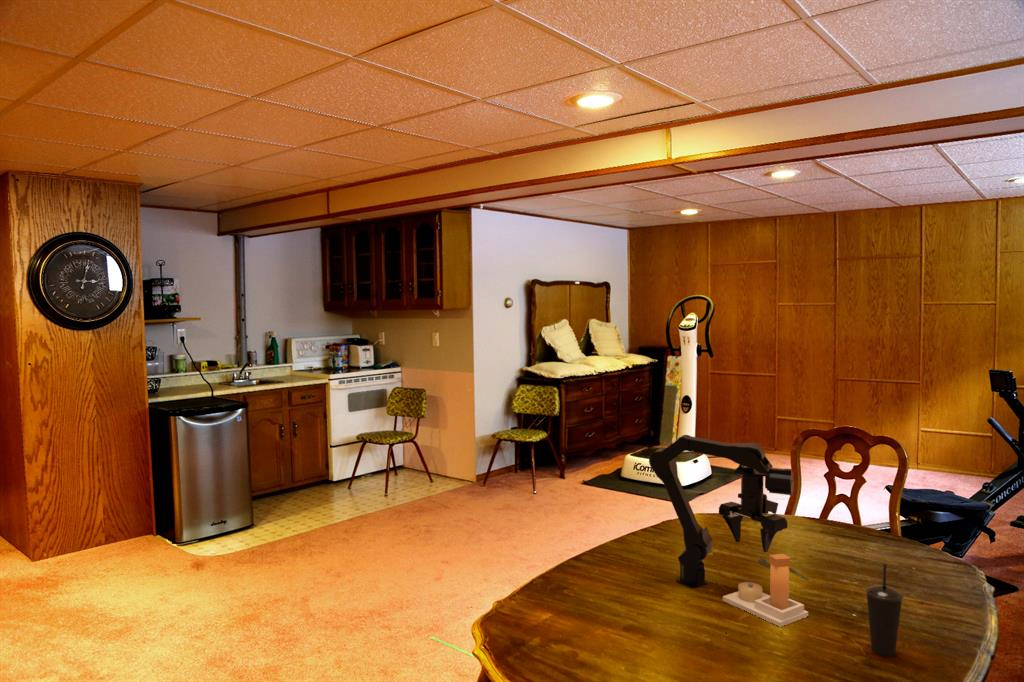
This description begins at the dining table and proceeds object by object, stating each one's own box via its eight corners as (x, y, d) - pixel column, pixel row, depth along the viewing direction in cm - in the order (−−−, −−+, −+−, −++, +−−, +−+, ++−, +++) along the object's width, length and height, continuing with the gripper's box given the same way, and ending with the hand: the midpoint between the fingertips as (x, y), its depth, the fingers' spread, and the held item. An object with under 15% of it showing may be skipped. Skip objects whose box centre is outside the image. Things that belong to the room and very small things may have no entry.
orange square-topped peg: (766, 607, 179) (767, 554, 178) (782, 605, 180) (783, 552, 179) (775, 614, 175) (776, 560, 174) (791, 613, 176) (792, 559, 175)
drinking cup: (857, 643, 163) (858, 559, 161) (888, 641, 163) (890, 558, 162) (877, 660, 155) (879, 572, 154) (909, 658, 156) (911, 570, 154)
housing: (722, 600, 186) (722, 581, 186) (750, 591, 192) (750, 573, 192) (779, 627, 171) (780, 606, 171) (808, 616, 177) (808, 596, 176)
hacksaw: (756, 562, 214) (756, 557, 214) (785, 559, 217) (785, 554, 217) (807, 594, 191) (807, 588, 191) (839, 590, 194) (839, 585, 193)
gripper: (801, 493, 185) (800, 551, 186) (744, 479, 201) (744, 532, 202) (773, 500, 179) (772, 559, 180) (717, 484, 195) (717, 539, 196)
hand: (751, 547), depth 190 cm, fingers open, 9 cm apart
